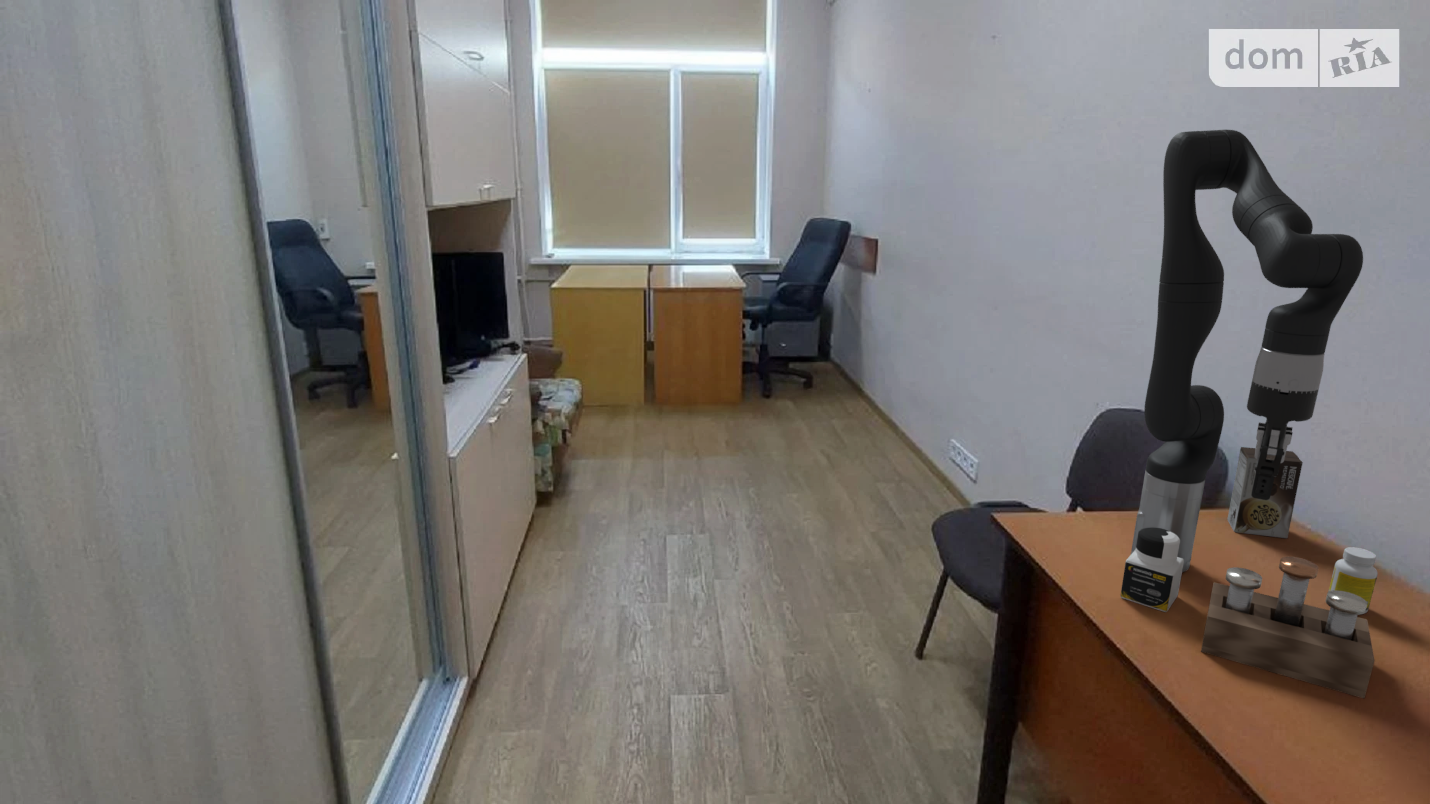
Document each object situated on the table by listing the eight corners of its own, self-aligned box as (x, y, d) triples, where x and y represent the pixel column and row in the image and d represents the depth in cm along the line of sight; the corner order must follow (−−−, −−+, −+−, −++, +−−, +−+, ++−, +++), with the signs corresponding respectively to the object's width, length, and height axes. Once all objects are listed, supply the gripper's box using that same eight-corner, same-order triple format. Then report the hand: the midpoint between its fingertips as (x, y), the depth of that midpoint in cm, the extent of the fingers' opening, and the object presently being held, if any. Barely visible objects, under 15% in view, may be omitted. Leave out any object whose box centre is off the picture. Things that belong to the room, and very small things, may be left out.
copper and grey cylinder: (1266, 628, 113) (1280, 565, 110) (1267, 614, 116) (1280, 553, 113) (1304, 638, 110) (1319, 574, 107) (1303, 624, 114) (1317, 561, 111)
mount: (1201, 651, 115) (1207, 616, 113) (1207, 615, 125) (1213, 582, 123) (1364, 698, 105) (1374, 660, 103) (1357, 655, 114) (1367, 619, 112)
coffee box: (1278, 526, 156) (1294, 450, 151) (1288, 539, 150) (1305, 461, 145) (1225, 519, 159) (1240, 445, 154) (1233, 532, 153) (1248, 456, 148)
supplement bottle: (1375, 616, 124) (1390, 561, 121) (1337, 613, 125) (1350, 558, 122) (1355, 599, 129) (1369, 546, 126) (1319, 596, 130) (1331, 543, 127)
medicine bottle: (1119, 598, 130) (1129, 533, 126) (1132, 582, 135) (1142, 519, 132) (1166, 613, 125) (1178, 546, 122) (1178, 596, 130) (1189, 531, 127)
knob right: (1312, 663, 110) (1328, 600, 108) (1311, 648, 114) (1326, 587, 111) (1351, 674, 108) (1368, 610, 105) (1349, 658, 111) (1365, 596, 109)
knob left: (1214, 636, 117) (1226, 576, 114) (1216, 623, 121) (1227, 564, 118) (1249, 646, 115) (1262, 585, 112) (1250, 632, 118) (1262, 572, 115)
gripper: (1254, 368, 113) (1231, 477, 118) (1250, 388, 103) (1226, 507, 108) (1318, 375, 109) (1291, 488, 114) (1321, 397, 99) (1292, 520, 104)
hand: (1260, 497), depth 111 cm, fingers closed
